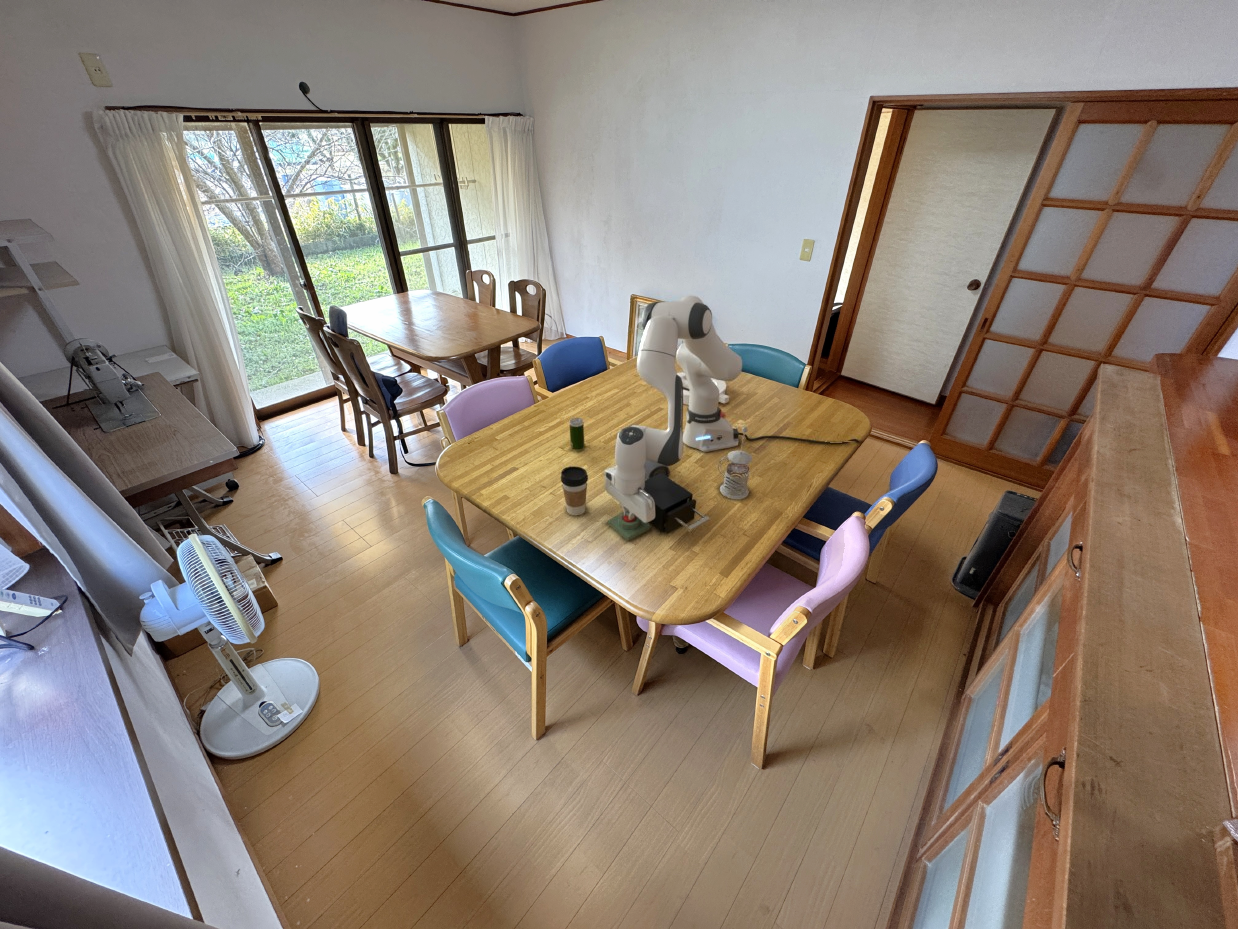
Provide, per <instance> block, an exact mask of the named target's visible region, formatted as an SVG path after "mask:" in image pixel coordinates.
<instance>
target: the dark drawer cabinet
mask: <svg viewBox="0 0 1238 929" xmlns="http://www.w3.org/2000/svg"><path fill="white" fill-rule="evenodd" d="M643 490H644V491H645V492H646V493H648V494H650V495H651V497H652V498H653V500H654V503H655V518H654V519H653V520H651V521H649V522H647V523H648V524H649V525H651V526H652V527H654V528H655V529H656V530H657V531H658V532H660V533H661V534H662V533H663V532H665V527H663V525H664V512H665V510H667V509H669V508H671V507H673V506H675V505H677V504H679V503H681V502H683V501H684V500H686V499H688V498H689V501H691V500H693V499H694V493H692V492H691V491H689V490H688V489H687V488H685V487H684V486H682V485H680V484H679V483H677V482H676V481H674V480H673V479H671V478H670V477H669V478H668V477H667V476H665V475H664V474H662V473H660V474H658V475H656V476H654V477H651V478H649V479H647V480H646V479H645V487H644V489H643Z"/></svg>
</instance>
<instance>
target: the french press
mask: <svg viewBox="0 0 1238 929" xmlns="http://www.w3.org/2000/svg"><path fill="white" fill-rule="evenodd" d="M748 430H749V428H748V427H747V426H743V427H742V428H741V432H742V433H744V434H746V433H747V432H748ZM744 438H745V436H744V435H743V436H742V442H741V448H740V450H732V451H730V452H728V453H727V455H724V456H722V458H721V459H720V460H719V461H718V463H717V470H718V473H719V474H720V475H721V476H722V477H723V482H722V484H721V485H720V487H719V491H720V493H721V494H722V496H724V497H726V498H728V499H730V500H731V499H732V500H742V499H745V498H747V497H748V496H749V493H750V492H749V489H748V482H749V477H750V467H749V464H750V463H752V462H753V455H751V454H750V453H748V452H747V451H744V450H743V444H744V440H745V439H744ZM722 460H726V462H729V461H730V462H729V463H728V464H727V466H726V471H724V470H723V469H722V465H721V464H722ZM719 467H720V468H719ZM721 471H722V472H721ZM722 473H723V474H724V475H723V474H722Z"/></svg>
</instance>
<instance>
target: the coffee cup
mask: <svg viewBox="0 0 1238 929" xmlns="http://www.w3.org/2000/svg"><path fill="white" fill-rule="evenodd" d="M588 480H589V475H588V472H587V470H586V469H585V468H584V467H582V466H581V467H580V466H567V467H564V468H563V469H562V470H561V471H560V482H561V483H562V490H563V496H564V502H565V506H566V511H567V514H569V515H571V516H580V515H583V514H584V513H585V512H586V503H587V502H586V501H587V490H588Z"/></svg>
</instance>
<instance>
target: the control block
mask: <svg viewBox="0 0 1238 929" xmlns="http://www.w3.org/2000/svg"><path fill="white" fill-rule="evenodd" d="M623 516H624V511H623V512H621V513H619V514H618V515H615V516H614V517H612V518H610V519H608V520H607V524H608V525H609V527H611V529H613V530H615V531H616V532H617V533H618V534H619V535H620V536H622V538H623V539H625V540H626V541H627V542H629V541H631V540H633V539H635V538H637V537H638V536H640V535H642V534H644V533H646V532H648V531H650V530H651V526H652V525H651V524H650V523H648V522H647V523H644V522H643V521H642V520H641V519H639V518H638V517H637V516H636V515H634V516H635V521H633V522H625V521H624V520H623Z"/></svg>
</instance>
